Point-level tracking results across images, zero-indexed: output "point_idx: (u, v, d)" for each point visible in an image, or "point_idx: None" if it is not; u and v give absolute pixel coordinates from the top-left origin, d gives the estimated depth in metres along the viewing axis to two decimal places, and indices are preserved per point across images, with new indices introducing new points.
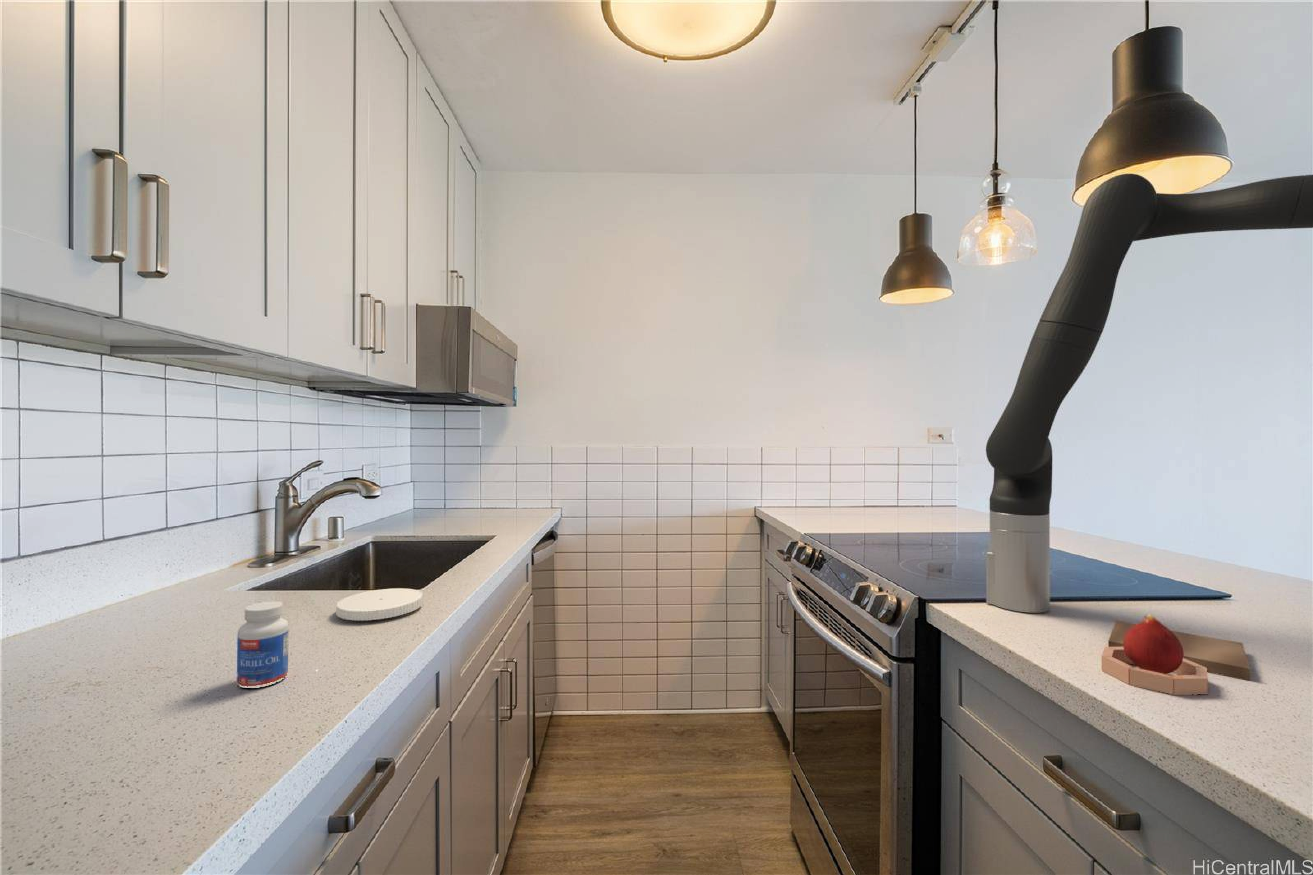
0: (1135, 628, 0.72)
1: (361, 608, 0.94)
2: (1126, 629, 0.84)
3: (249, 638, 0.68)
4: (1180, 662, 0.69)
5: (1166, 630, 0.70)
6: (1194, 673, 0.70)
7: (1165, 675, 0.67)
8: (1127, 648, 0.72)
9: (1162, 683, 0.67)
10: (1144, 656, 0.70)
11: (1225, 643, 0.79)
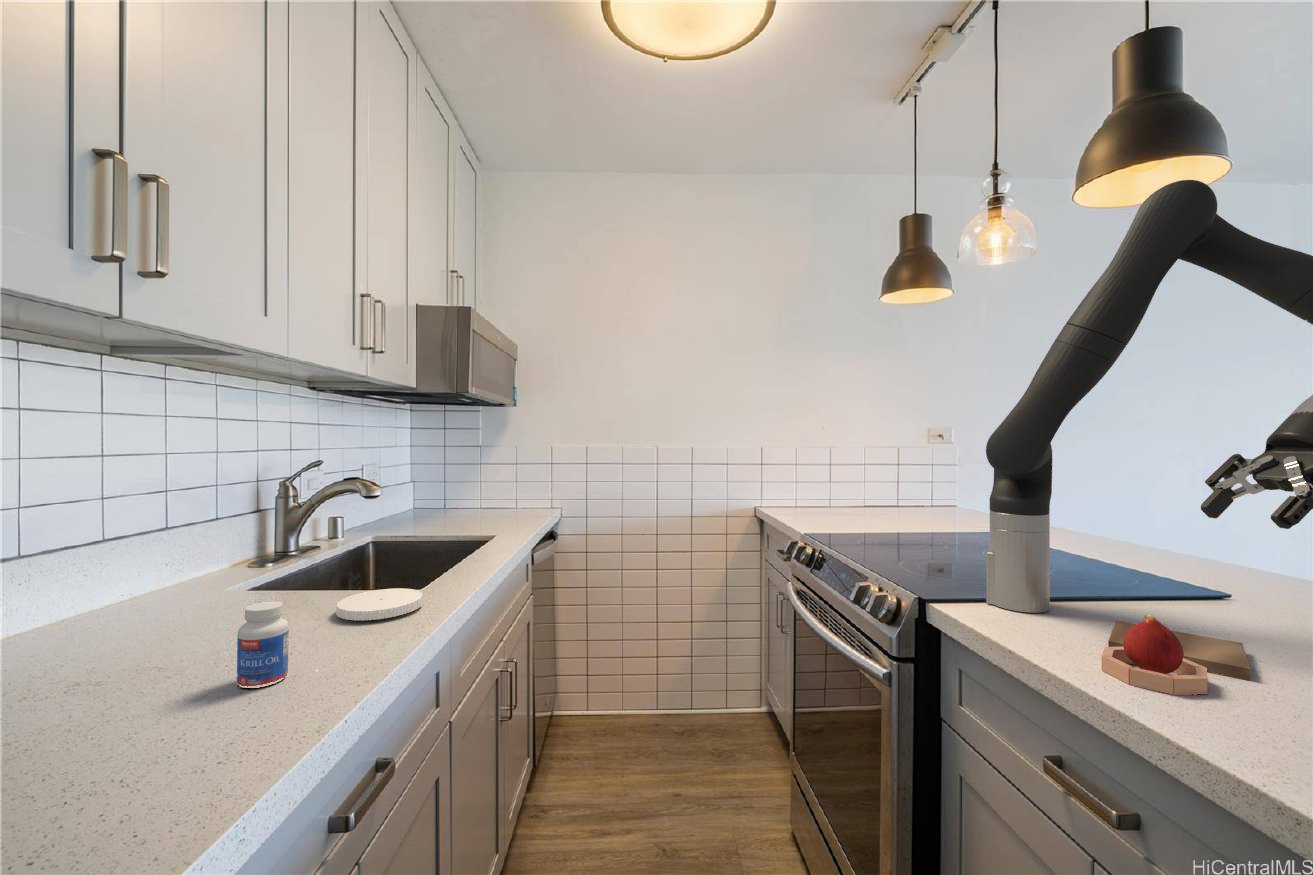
0: (1135, 628, 0.72)
1: (361, 608, 0.94)
2: (1126, 629, 0.84)
3: (249, 638, 0.68)
4: (1180, 662, 0.69)
5: (1166, 630, 0.70)
6: (1194, 673, 0.70)
7: (1165, 675, 0.67)
8: (1127, 648, 0.72)
9: (1162, 683, 0.67)
10: (1144, 656, 0.70)
11: (1225, 643, 0.79)
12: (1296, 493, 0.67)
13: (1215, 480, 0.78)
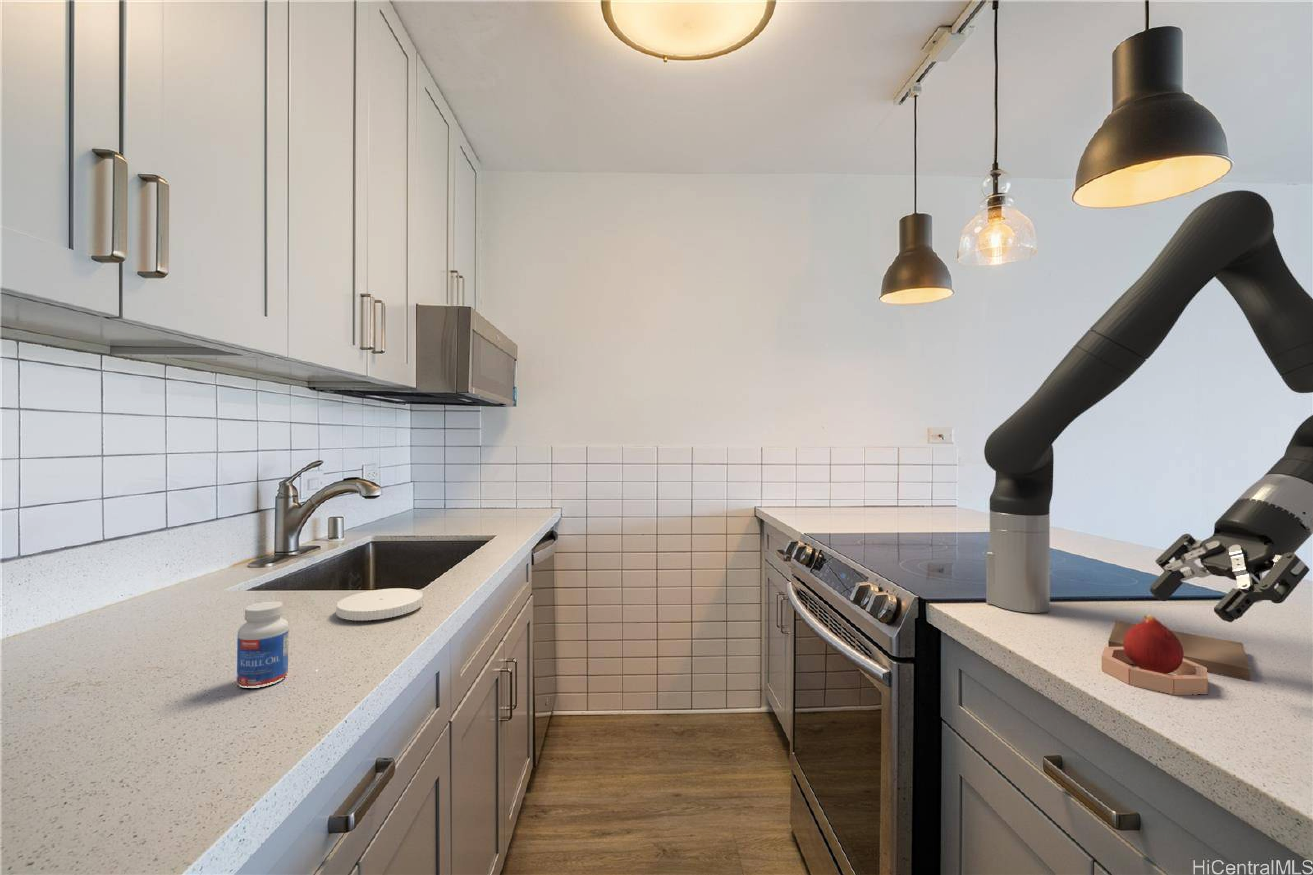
0: (1135, 628, 0.72)
1: (361, 608, 0.94)
2: (1126, 629, 0.84)
3: (249, 638, 0.68)
4: (1180, 662, 0.69)
5: (1166, 630, 0.70)
6: (1194, 673, 0.70)
7: (1165, 675, 0.67)
8: (1127, 648, 0.72)
9: (1162, 683, 0.67)
10: (1144, 656, 0.70)
11: (1225, 643, 0.79)
12: (1238, 586, 0.67)
13: (1165, 561, 0.77)
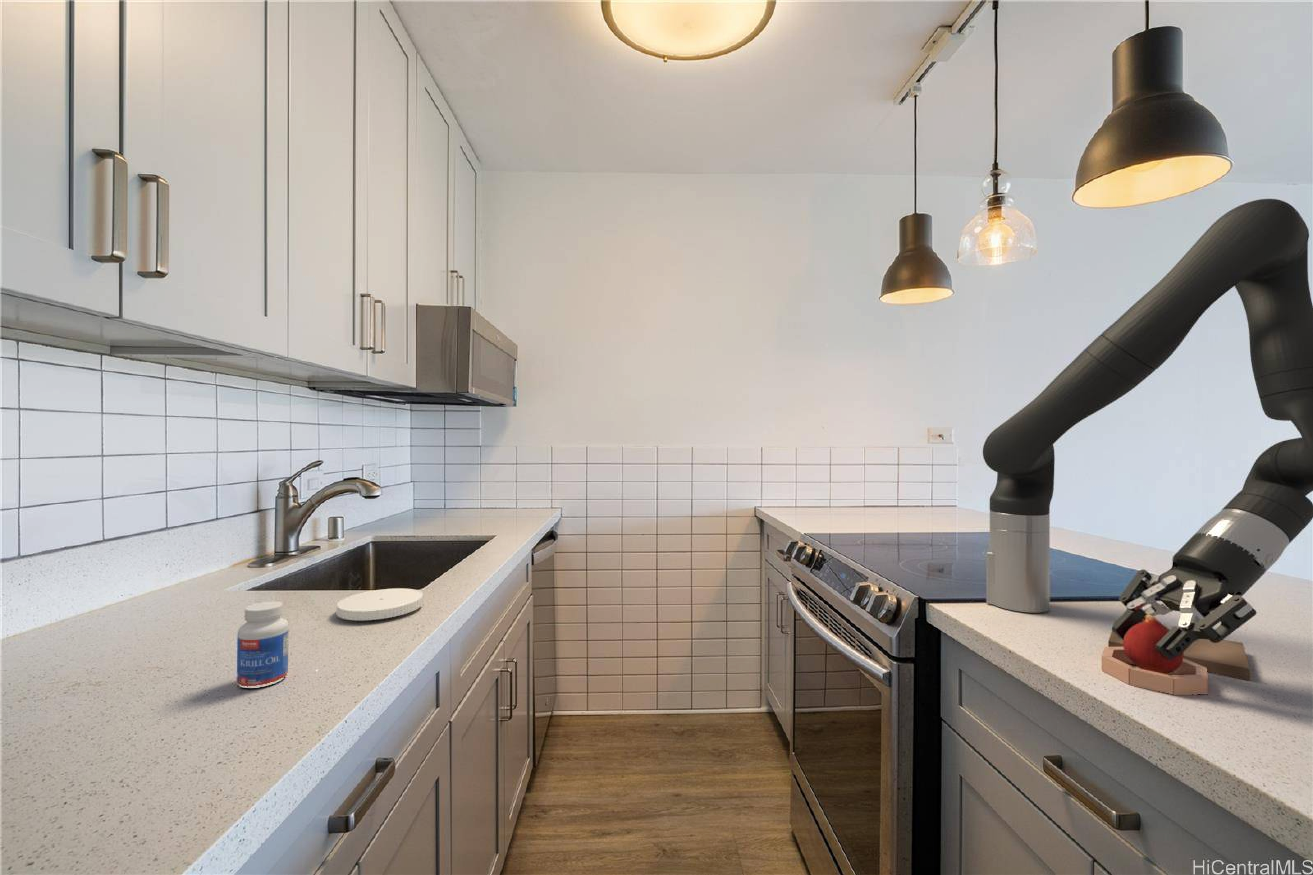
0: (1135, 628, 0.72)
1: (361, 608, 0.94)
2: None
3: (249, 638, 0.68)
4: (1180, 662, 0.69)
5: (1166, 630, 0.70)
6: (1194, 673, 0.70)
7: (1165, 675, 0.67)
8: (1127, 647, 0.72)
9: (1162, 683, 0.67)
10: (1144, 656, 0.70)
11: (1225, 643, 0.79)
12: (1179, 624, 0.68)
13: (1128, 598, 0.76)
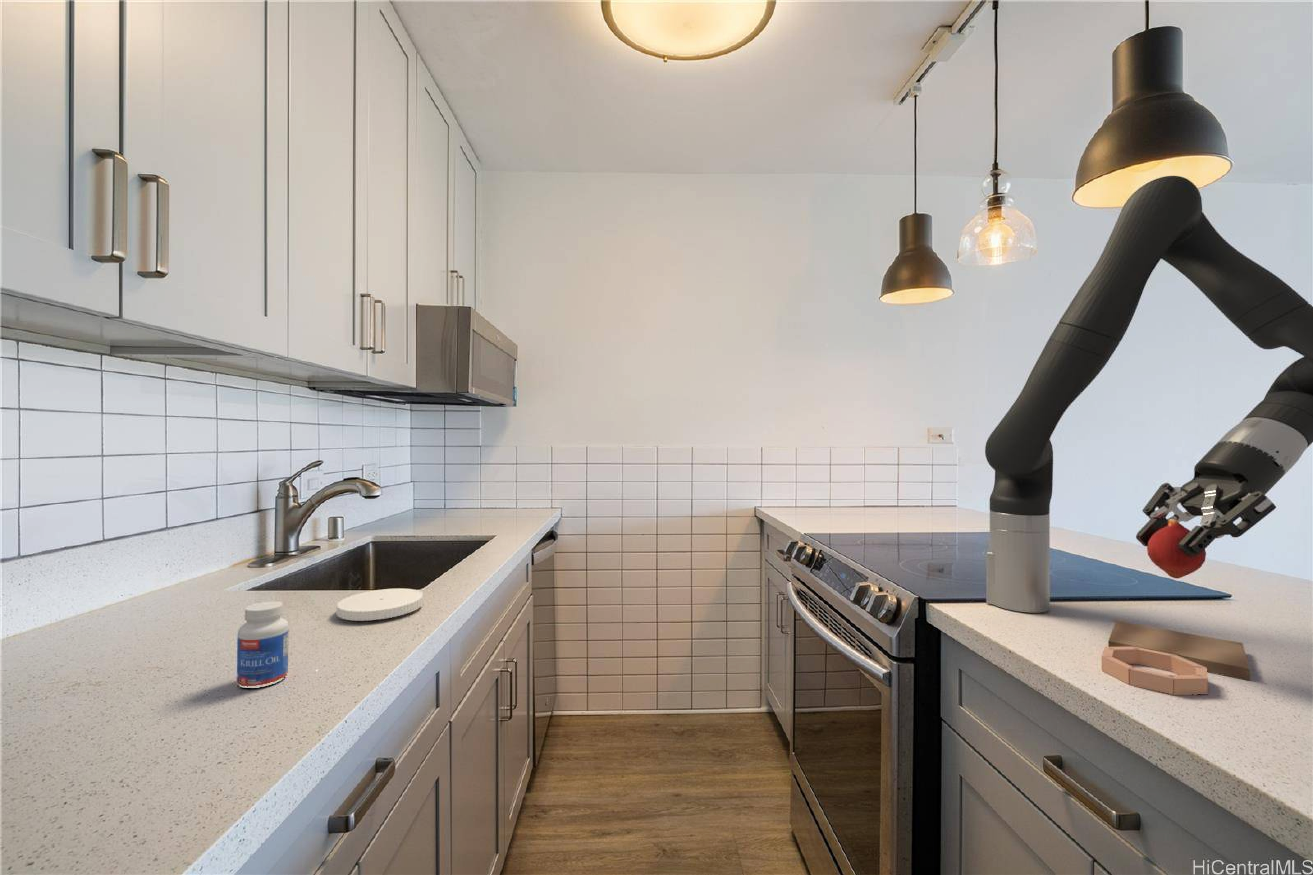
0: (1159, 532, 0.75)
1: (361, 608, 0.94)
2: (1126, 629, 0.84)
3: (249, 638, 0.68)
4: (1202, 560, 0.72)
5: (1188, 531, 0.73)
6: (1194, 673, 0.70)
7: (1165, 675, 0.67)
8: (1151, 551, 0.75)
9: (1162, 683, 0.67)
10: (1167, 556, 0.73)
11: (1225, 643, 0.79)
12: (1201, 523, 0.72)
13: (1151, 509, 0.80)
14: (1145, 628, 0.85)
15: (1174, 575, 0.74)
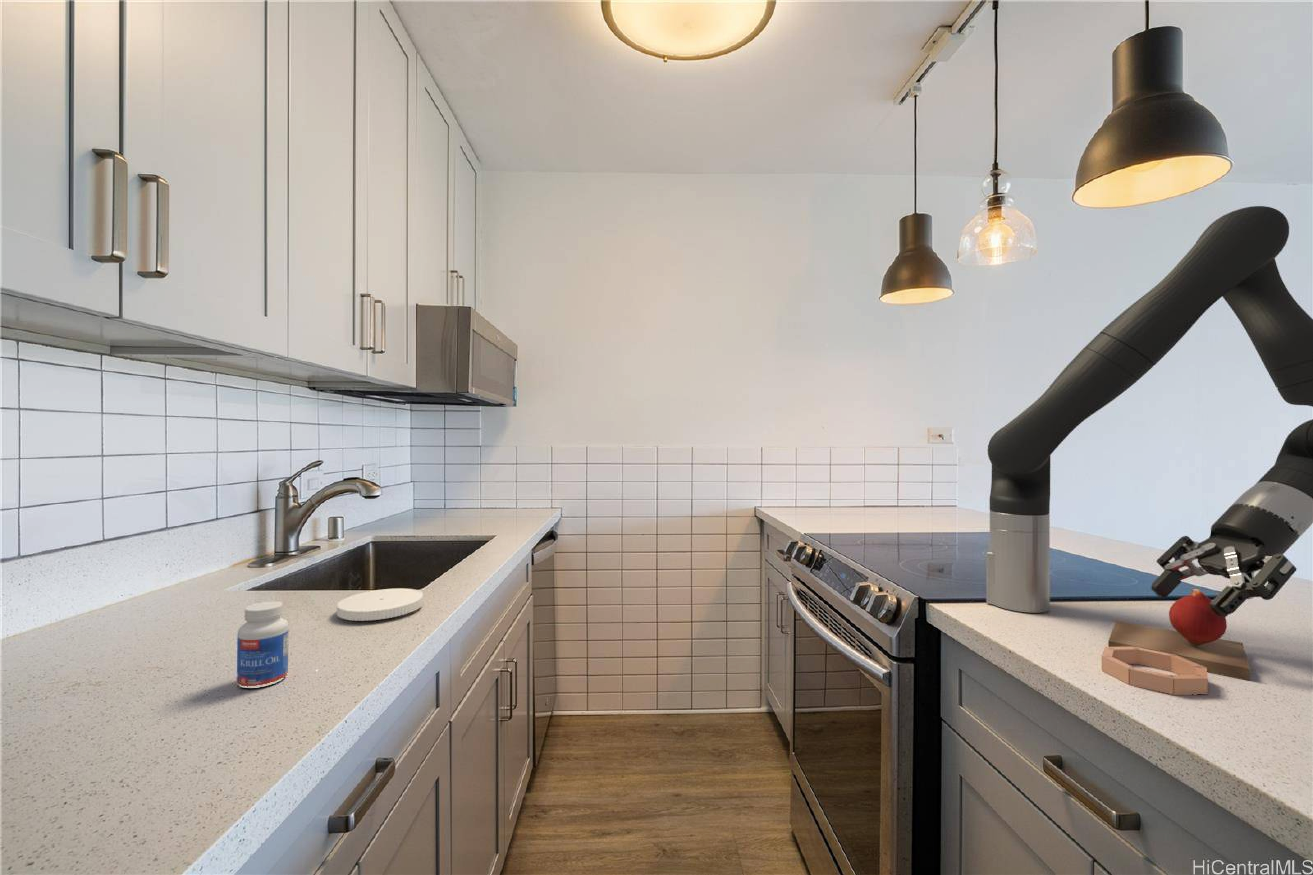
0: (1182, 600, 0.78)
1: (361, 608, 0.94)
2: (1126, 629, 0.84)
3: (249, 638, 0.68)
4: (1223, 632, 0.75)
5: None
6: (1194, 673, 0.70)
7: (1165, 675, 0.67)
8: (1174, 618, 0.78)
9: (1162, 683, 0.67)
10: (1190, 626, 0.76)
11: (1225, 643, 0.79)
12: (1232, 584, 0.74)
13: (1165, 561, 0.84)
14: (1145, 628, 0.85)
15: (1194, 643, 0.77)
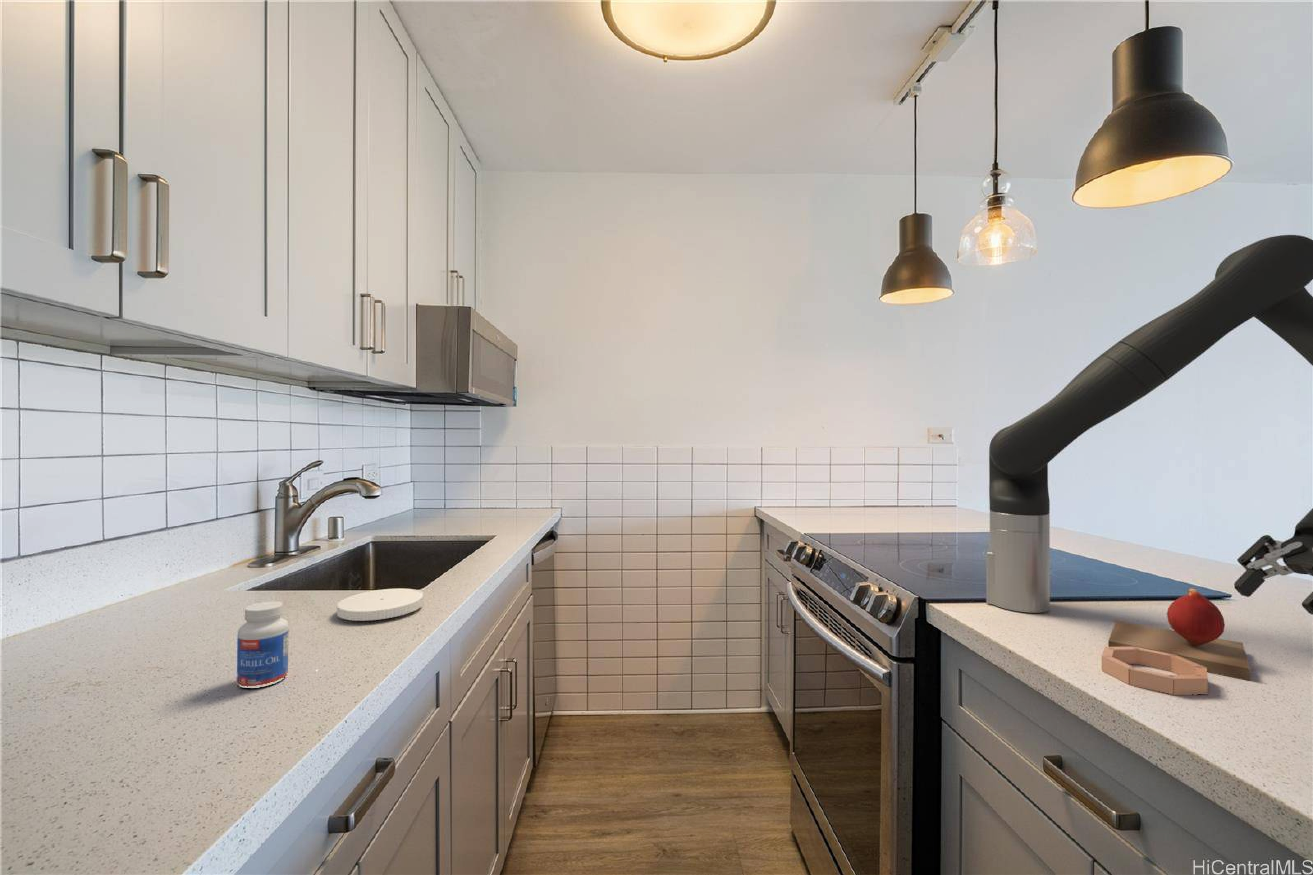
0: (1179, 600, 0.79)
1: (361, 608, 0.94)
2: (1126, 629, 0.84)
3: (249, 638, 0.68)
4: (1222, 631, 0.76)
5: (1208, 602, 0.77)
6: (1194, 673, 0.70)
7: (1165, 675, 0.67)
8: (1172, 619, 0.78)
9: (1162, 683, 0.67)
10: (1189, 626, 0.76)
11: (1225, 643, 0.79)
12: None
13: (1247, 560, 0.84)
14: (1145, 628, 0.85)
15: (1194, 643, 0.77)
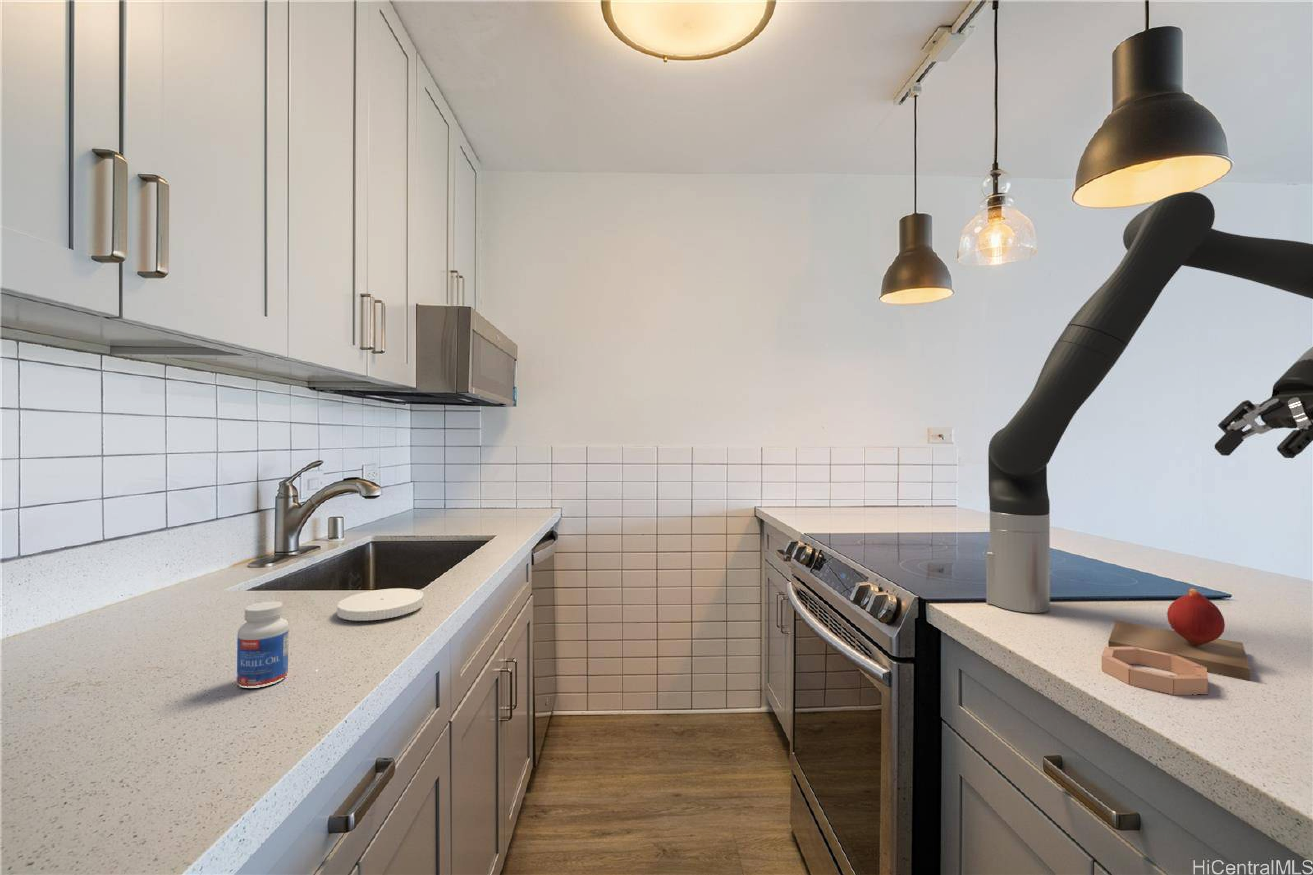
0: (1179, 600, 0.79)
1: (361, 608, 0.94)
2: (1126, 629, 0.84)
3: (249, 638, 0.68)
4: (1222, 631, 0.76)
5: (1208, 602, 0.77)
6: (1194, 673, 0.70)
7: (1165, 675, 0.67)
8: (1173, 619, 0.78)
9: (1162, 683, 0.67)
10: (1189, 626, 0.76)
11: (1225, 643, 0.79)
12: (1299, 427, 0.77)
13: (1227, 423, 0.88)
14: (1145, 628, 0.85)
15: (1194, 643, 0.77)
